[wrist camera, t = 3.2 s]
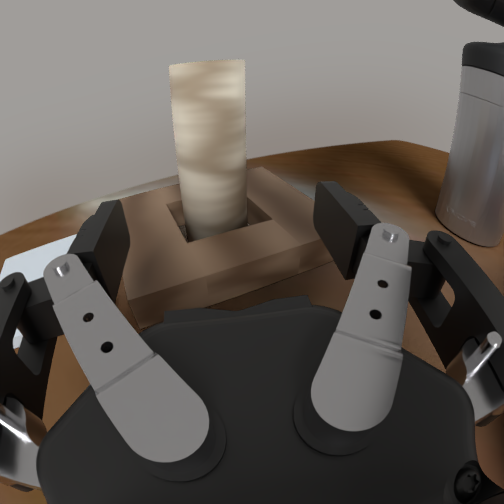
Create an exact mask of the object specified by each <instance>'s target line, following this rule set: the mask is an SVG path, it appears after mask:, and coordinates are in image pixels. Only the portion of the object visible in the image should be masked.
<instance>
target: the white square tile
mask: <svg viewBox="0 0 504 504" xmlns="http://www.w3.org/2000/svg"><path fill="white" fill-rule="evenodd" d="M76 235H77V234H76ZM76 235H73V236H70V237H67V238H64V239H61V240H58V241H55V242H52V243H49V244H46V245H43V246H41V247H38V248H35V249H32V250H29V251H27V252H24V253H21V254H18V255H16V256H13V257H11V258H8V259H6V260H5V263H4V266H3V269H2V271H1V275H0V281H1V280H2V279H3V278H5V277H6V276H8V275H9V274H12V273H15V272H21V273H23V274H24V276H25V278H26V280H27V282H31V281H33V280H36V279H39V278H41V277H44V276H43V272H44V269H45V267H46V266H47V265H48V264H49V263H50V262H51V261H52V260H53V259H55V258H57V257H59V256H61V255H64V254H67V252H68V250H69V248H70V246H71V244H72V242H73V240H74V239H75V238H76ZM22 338H23V335H22V334H21V333H20V331H19V330H18V329H16V332H15V335H14V338H13V348H17V347H20V344H21V341H22Z"/></svg>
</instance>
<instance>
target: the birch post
mask: <svg viewBox="0 0 504 504" xmlns="http://www.w3.org/2000/svg"><path fill="white" fill-rule="evenodd" d="M169 75H170V89H171V104H172V116H173V127H174V137H175V148H176V157H177V166H178V174H179V182H180V190H181V198H182V205H183V212H184V219H185V226H186V233H187V239H188V243H189V242H193V241H196V240H200V239H203V238H207V237H210V236H214V235H218V234H221V233H225V232H228V231H232V230H236V229H239V228H243V227H247V177H246V112H245V60H214V61H200V62H190V63H182V64H175V65H169Z"/></svg>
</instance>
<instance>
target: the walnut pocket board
mask: <svg viewBox="0 0 504 504" xmlns="http://www.w3.org/2000/svg"><path fill="white" fill-rule="evenodd" d="M246 177H247V222H248V223H249V224H250V226H247V227H243V228H239V229H236V230H232V231H228V232H225V233H221V234H218V235H214V236H210V237H207V238H203V239H200V240H196V241H193V242H189V243H187V242H186V240H185V238H184V237H183V235H182V233H181V231H180V229H179V227H178V226H182V225H185V219H184V212H183V205H182V198H181V190H180V184H176V185H172V186H168V187H164V188H160V189H156V190H152V191H148V192H144V193H140V194H136V195H133V196H129V197H126V198H122V199H118V200H120V201H121V203H122V206H123V210H124V214H125V218H126V222H127V226H128V230H129V234H130V248H129V252H128V255H127V259H126V262H125V266H124V270H123V273H122V275H123V280H124V285H125V290H126V295H127V299H128V302H129V305H130V307H131V310H132V312H133V315H134V317H135V319H136V322H137V324H138V326H139V329H141V328H144V327H148V326H151V325H154V324H157V323H160V322H163V321H164V311H171V310H182V309H193V308H205V307H208V306H211V305H214V304H217V303H220V302H223V301H225V300H228V299H231V298H234V297H237V296H240V295H242V294H245V293H248V292H251V291H254V290H256V289H259V288H262V287H265V286H267V285H270V284H273V283H276V282H278V281H281V280H284V279H286V278H289V277H292V276H294V275H297V274H300V273H302V272H305V271H308V270H310V269H313V268H315V267H318V266H321V265H323V264H326V263H328V262H331V261H334V260H333V258H332V256H331V255H330V253H329V251H328V250H327V248H326V246H325V245H324V243H323V241H322V240H321V238H320V236H319V235H318V233H317V232H316V230H315V227H314V223H313V211H314V202H315V201H314V200H312V199H311V198H309V197H308V196H306V195H305V194H303V193H302V192H300V191H299V190H297V189H296V188H294V187H293V186H291V185H290V184H288V183H286V182H285V181H283V180H282V179H280V178H279V177H277V176H276V175H274V174H272V173H271V172H269V171H268V170H266V169H265V168H263V167H258V168H253V169H247V170H246Z"/></svg>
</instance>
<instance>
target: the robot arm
mask: <svg viewBox="0 0 504 504" xmlns="http://www.w3.org/2000/svg"><path fill="white" fill-rule="evenodd" d="M454 1H455V2H456V3H457V4H458V5H459V6H460V7H462V8H464V9H466V10H467V11H469V12H471V13H473V14H476V15H478V16H481V17H483V18H485V19H488V20H490V21H492V22H495V23H497V24H499V25H501V26H503V27H504V0H454ZM435 213H436V215H437V217H438V219H439V220H440V221H441V222H442V223H443V224H444V225H445V226H446V227H447V228H448V229H449V230H451V231H452V232H453V233H455V234H457V235H458V236H460V237H462V238H464V239H466V240H467V241H470V242H472V243H475V244H478V245H481V246H487V247H493V246H496V245H498V244H499V242H500V240H501V238H502V235H503V233H504V43H487V42H471V43H468V44H466V45H465V46H464V48H463V54H462V71H461V83H460V94H459V102H458V109H457V116H456V123H455V129H454V134H453V139H452V145H451V150H450V154H449V159H448V163H447V168H446V172H445V176H444V179H443V183H442V187H441V191H440V195H439V198H438V202H437V206H436V209H435ZM313 223H314V227H315V230H316V232H317V233H318V235H319V236H320V238H321V240H322V241H323V243H324V245H325V246H326V248H327V250H328V251H329V253H330V255H331V256H332V258H333V260H334V262H335V263H336V265H337V267H338V268H339V270H340V272H341V274H342V275H343V277H344V279H345V280H349V279H355V280H354V283H353V286H352V289H351V291H350V294H349V297H348V300H347V302H346V305H345V308H344V310H343V313H342V312H340V311H338V310H335V309H332V308H328V307H324V306H318V305H311V303H310V300H309V298H308V295H303V296H296V297H288V298H281V299H273V300H270V301H267V302H264V303H262V304H259V305H256V306H253V307H250V308H246V309H243V310H240V311H228V310H217V309H206V308H193V309H182V310H171V311H164V322H162V323H159V324H156V325H154V326H151V327H149V328H148V329H146V330H144V331H142V332H141V333H139V334H138V333H137V332H136V331H135V330H134V329H133V327H132V326H131V325H130V324H129V322H128V321H127V320H126V319H125V317H124V316H123V315H122V313H121V312H120V311H119V309H118V308H117V307H116V306H115V301H116V297H117V293H118V289H119V285H120V281H121V277H122V273H123V270H124V266H125V262H126V259H127V255H128V252H129V248H130V234H129V230H128V226H127V222H126V218H125V214H124V210H123V206H122V203H121V201H120V200H112V201H106V202H102V203H101V204H100V206H99V208H98V210H97V211H96V213H95V215H92V216H91V217H89V218H88V219H87V220H86V221H85V222H84V223H83V225H82V226H81V228H80V230H79V232H78V233H77V235H76V238H75V239H74V240H73V242H72V244H71V246H70V248H69V250H68V252H67V254H64V255H61V256H59V257H57V258H55V259H53V260H52V261H51V262H50V263H49V264H48V265H47V266H46V267H45V269H44V272H43V276H44V277H41V278H39V279H36V280H33V281H31V282H27V280H26V278H25V276H24V274H23V273H21V272H15V273H12V274H9V275H8V276H6V277H5V278H3V279H2V280H1V281H0V483H1V484H4V485H7V486H11V487H13V488H16V489H18V490H21V491H24V492H29V491H32V490H33V489H37V490H40V491H43V494H44V496H45V498H46V501H47V503H48V504H504V489H502V488H501V487H499V486H498V485H496V484H495V483H494V482H492V481H491V480H490V479H489V478H488V477H487V476H486V475H485V474H484V473H483V471H482V469H481V467H480V465H479V463H478V459H477V453H476V444H475V425H476V426H479V427H482V426H486V425H487V424H489V423H490V422H492V421H493V420H494V419H496V418H497V417H498V416H499V415H501V414H502V413H503V412H504V297H503V296H502V294H501V293H500V292H499V290H498V289H497V288H496V286H495V285H494V284H493V283H492V281H491V280H490V279H489V278H488V276H487V275H486V274H485V273H484V271H483V270H482V269H481V268H480V267H479V266H478V264H477V263H476V262H475V261H474V260H473V259H472V257H471V256H470V255H469V254H468V253H467V252H466V251H465V249H464V248H463V247H462V246H461V245H460V244H459V243H458V242H457V241H456V240H455V239H454V238H453V237H452V236H450V235H448V234H446V233H444V232H441V231H430V232H429V233H428V234H427V237H426V240H425V242H421V241H413V240H409V236H408V234H407V233H406V232H405V231H404V230H403V229H401V228H400V227H398V226H396V225H393V224H389V223H381V222H380V221H379V220H378V219H377V217H376V216H375V215H374V214H373V213H372V212H371V211H370V210H368V208H367V207H366V206H365V205H363V203H362V202H361V201H360V200H359V199H358V198H357V197H356V196H354V195H352V194H350V193H348V192H346V191H345V190H344V189H343V188H342V187H341V186H340V185H339V184H338V183H337V182H335V181H332V182H318V183H317V186H316V193H315V202H314V211H313ZM445 280H446V281H447V282H448V283H449V285H450V286H451V287H452V289H453V291H454V294H455V301H454V304H453V306H452V307H451V306H450V304H449V303H448V301H447V300H446V298H445V297H444V296H443V294H442V293H441V289H442V287H443V285H444V283H445ZM408 301H409V303H410V305H411V306H412V308H413V310H414V311H415V313H416V315H417V317H418V318H419V320H420V322H421V324H422V325H423V327H424V329H425V331H426V333H427V334H428V336H429V338H430V340H431V342H432V344H433V345H434V347H435V349H436V351H437V353H438V355H439V357H440V359H441V361H442V363H443V365H444V367H445V369H446V374H445V373H444V372H442V371H440V370H439V369H437V368H435V367H434V366H432V365H430V364H428V363H427V362H425V361H423V360H422V359H420V358H418V357H417V356H415V355H413V354H412V353H410V352H408V351H407V350H405V349H403V348H402V347H401V345H402V339H403V333H404V327H405V321H406V314H407V306H408ZM16 329H18V330H19V331H20V333H21V334H22V335H23V338H22V341H21V344H20V347H19V351H18V354H16V353H15V351H14V348H13V338H14V335H15V332H16ZM63 334H65V336H66V338H67V340H68V342H69V344H70V346H71V348H72V350H73V352H74V354H75V356H76V358H77V360H78V362H79V364H80V366H81V368H82V370H83V371H84V373H85V375H86V377H87V379H88V380H89V382H90V385H89V386H88V387H87V389H86V390H85V391H84V392H83V393H82V394H81V395H80V396H79V397H78V398H77V400H76V401H75V402H74V403H73V404H72V405H71V406H70V407H69V409H68V410H67V411H66V412H65V413H64V414H63V415H62V416H61V418H60V419H59V420H58V421H57V422H56V423H55V424H54V426H53V427H52V428H51V429H50V430H49V431H48V432H47V430H46V427H45V425H44V423H43V421H42V418H43V410H44V402H45V396H46V389H47V383H48V378H49V373H50V368H51V363H52V358H53V353H54V349H55V345H56V341H57V336H60V335H63Z"/></svg>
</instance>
